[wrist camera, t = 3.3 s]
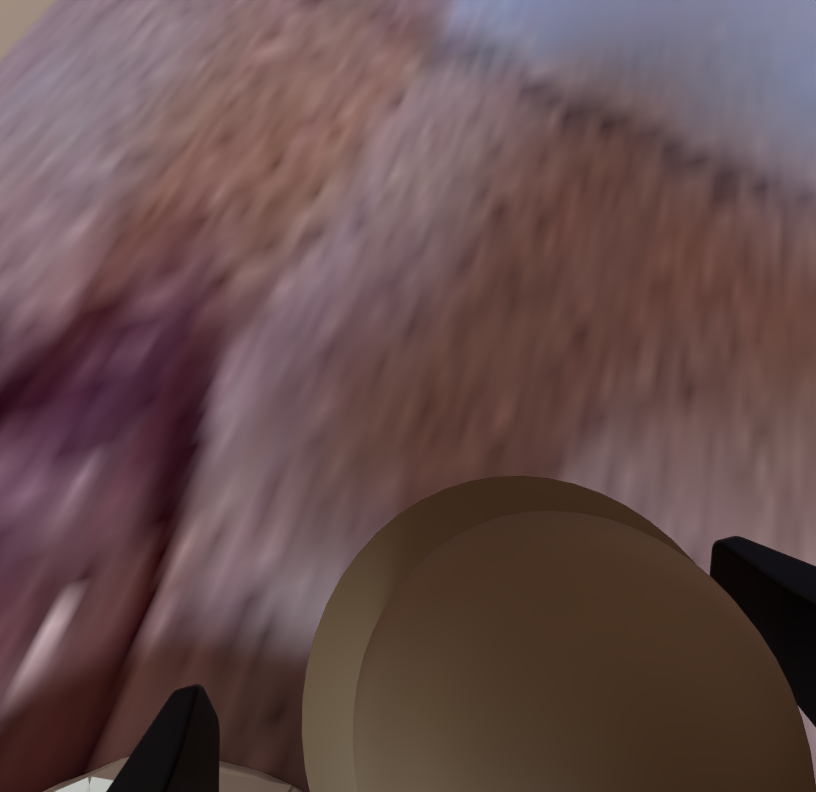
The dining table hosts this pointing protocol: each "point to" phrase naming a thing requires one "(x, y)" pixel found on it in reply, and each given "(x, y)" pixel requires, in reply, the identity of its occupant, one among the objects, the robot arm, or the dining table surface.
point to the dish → (237, 784)
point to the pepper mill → (541, 658)
